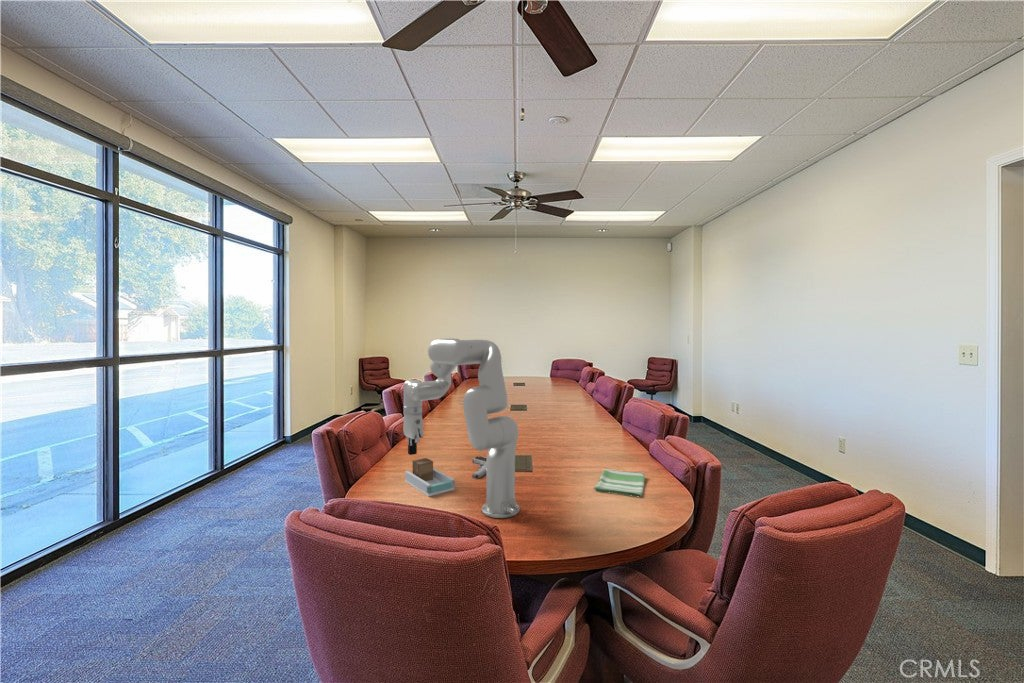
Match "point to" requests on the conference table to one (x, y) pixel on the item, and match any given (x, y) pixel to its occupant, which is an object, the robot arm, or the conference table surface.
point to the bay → (431, 483)
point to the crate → (423, 469)
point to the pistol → (480, 466)
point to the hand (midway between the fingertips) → (412, 453)
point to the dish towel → (621, 482)
